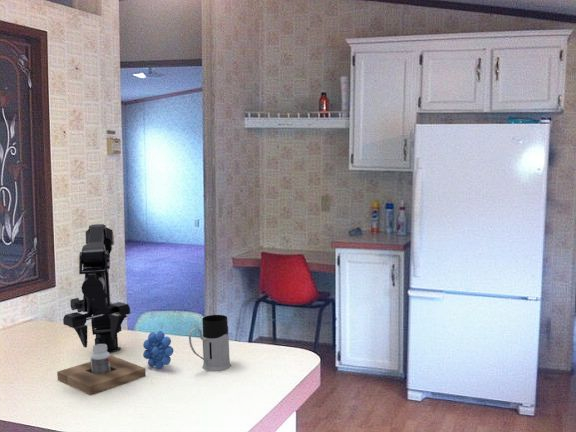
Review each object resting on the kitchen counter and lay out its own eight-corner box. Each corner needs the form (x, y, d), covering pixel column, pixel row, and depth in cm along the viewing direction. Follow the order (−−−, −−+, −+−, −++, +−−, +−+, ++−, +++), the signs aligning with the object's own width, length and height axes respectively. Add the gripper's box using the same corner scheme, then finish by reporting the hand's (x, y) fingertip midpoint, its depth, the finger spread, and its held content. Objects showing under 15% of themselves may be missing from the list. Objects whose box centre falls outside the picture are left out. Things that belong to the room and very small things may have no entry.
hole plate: (111, 363, 205) (111, 355, 204) (145, 376, 192) (145, 368, 192) (57, 379, 191) (57, 371, 191) (90, 395, 179) (90, 386, 179)
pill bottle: (113, 378, 191) (111, 346, 190) (95, 383, 188) (93, 349, 187) (108, 373, 196) (106, 341, 194) (90, 377, 193) (87, 345, 192)
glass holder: (237, 365, 199) (235, 317, 198) (200, 379, 189) (198, 328, 187) (218, 359, 205) (216, 312, 204) (181, 372, 195) (179, 323, 193)
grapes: (183, 367, 199) (181, 329, 197) (168, 375, 193) (166, 335, 191) (154, 361, 205) (152, 324, 203) (139, 368, 199) (136, 330, 198)
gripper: (109, 281, 201) (112, 330, 203) (51, 292, 187) (55, 345, 189) (130, 285, 193) (133, 337, 195) (71, 298, 180) (75, 353, 182)
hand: (99, 343), depth 190 cm, fingers open, 9 cm apart
